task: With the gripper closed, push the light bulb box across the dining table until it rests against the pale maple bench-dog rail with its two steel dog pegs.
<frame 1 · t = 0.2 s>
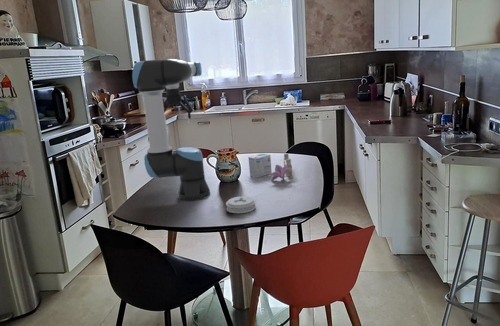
hand: (177, 125, 247), 28 cm above the table, fingers open, 13 cm apart
light bulb box: (260, 175, 234), on the table
lid: (241, 210, 182), on the table
lily: (281, 181, 218), on the table
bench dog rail: (288, 172, 233), on the table
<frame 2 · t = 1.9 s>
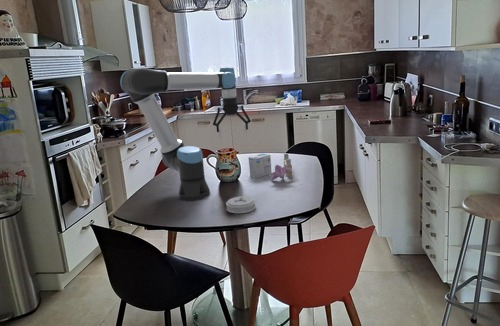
hand: (233, 136, 229), 22 cm above the table, fingers open, 13 cm apart
nothing on the table moved.
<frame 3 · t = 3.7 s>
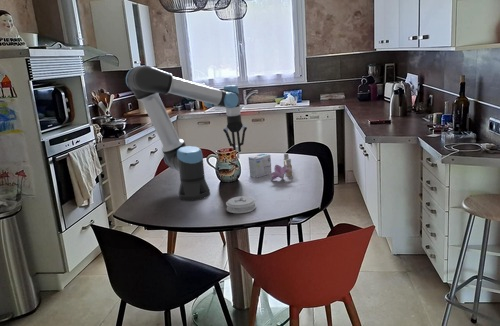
hand: (238, 157, 231), 10 cm above the table, fingers closed
nothing on the table moved.
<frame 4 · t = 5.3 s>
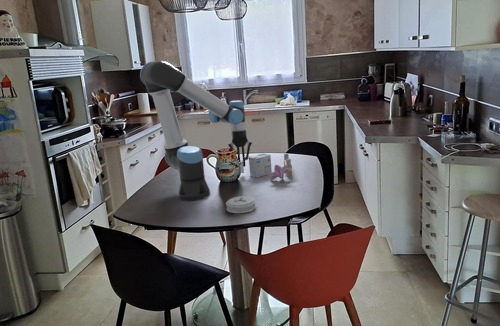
hand: (242, 172, 233), 2 cm above the table, fingers closed
light bulb box: (261, 175, 234), on the table, touching hand
everything else where it was.
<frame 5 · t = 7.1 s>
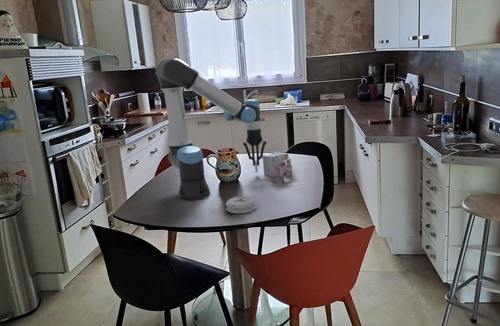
hand: (256, 171, 233), 2 cm above the table, fingers closed
light bulb box: (274, 173, 234), on the table, touching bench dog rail, hand
everything else where it was.
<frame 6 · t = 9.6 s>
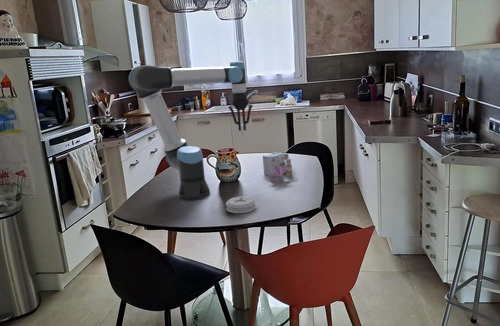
hand: (242, 136, 228), 22 cm above the table, fingers closed
light bulb box: (274, 173, 234), on the table
everything else where it was.
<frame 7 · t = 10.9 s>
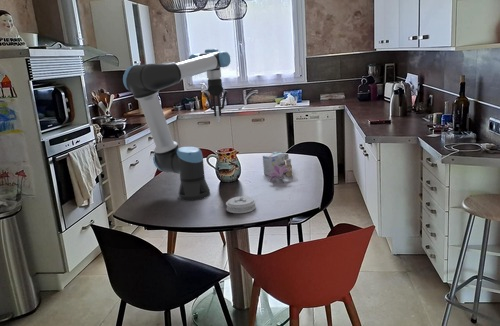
hand: (218, 121, 235), 29 cm above the table, fingers closed
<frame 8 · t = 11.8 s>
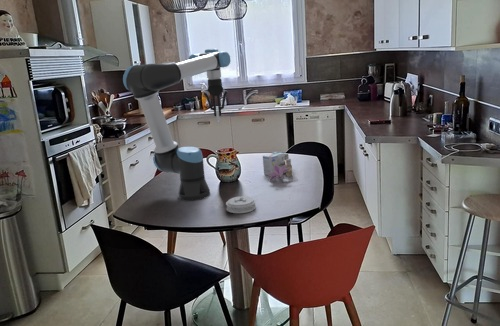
hand: (218, 121, 235), 29 cm above the table, fingers closed
at the end: light bulb box inside the target area (1.1 cm from its centre), on the table; light bulb box moved 7.7 cm from its start; light bulb box tilted 0° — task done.
